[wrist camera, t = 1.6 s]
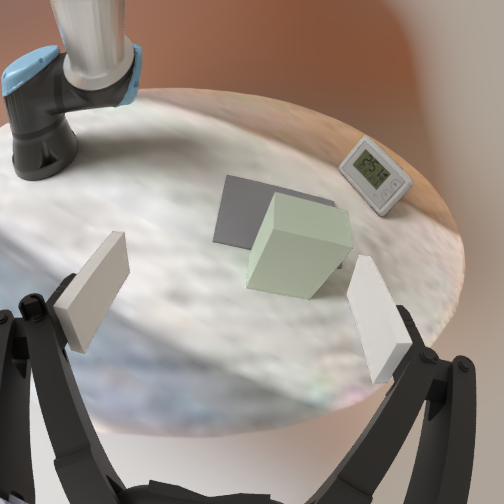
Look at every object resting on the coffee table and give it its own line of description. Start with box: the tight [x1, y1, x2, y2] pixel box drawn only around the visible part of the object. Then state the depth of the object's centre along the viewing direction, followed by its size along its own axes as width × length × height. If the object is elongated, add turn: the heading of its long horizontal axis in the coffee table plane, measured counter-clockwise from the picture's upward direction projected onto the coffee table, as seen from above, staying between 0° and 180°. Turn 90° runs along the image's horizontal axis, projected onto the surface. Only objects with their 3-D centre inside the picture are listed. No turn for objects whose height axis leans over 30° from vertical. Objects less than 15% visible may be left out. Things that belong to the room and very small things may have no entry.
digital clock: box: [338, 136, 413, 216], centre depth 62 cm, size 16×9×11 cm, turn 20°
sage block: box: [246, 192, 353, 299], centre depth 42 cm, size 6×10×14 cm, turn 85°
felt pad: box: [213, 175, 342, 269], centre depth 54 cm, size 16×22×1 cm
